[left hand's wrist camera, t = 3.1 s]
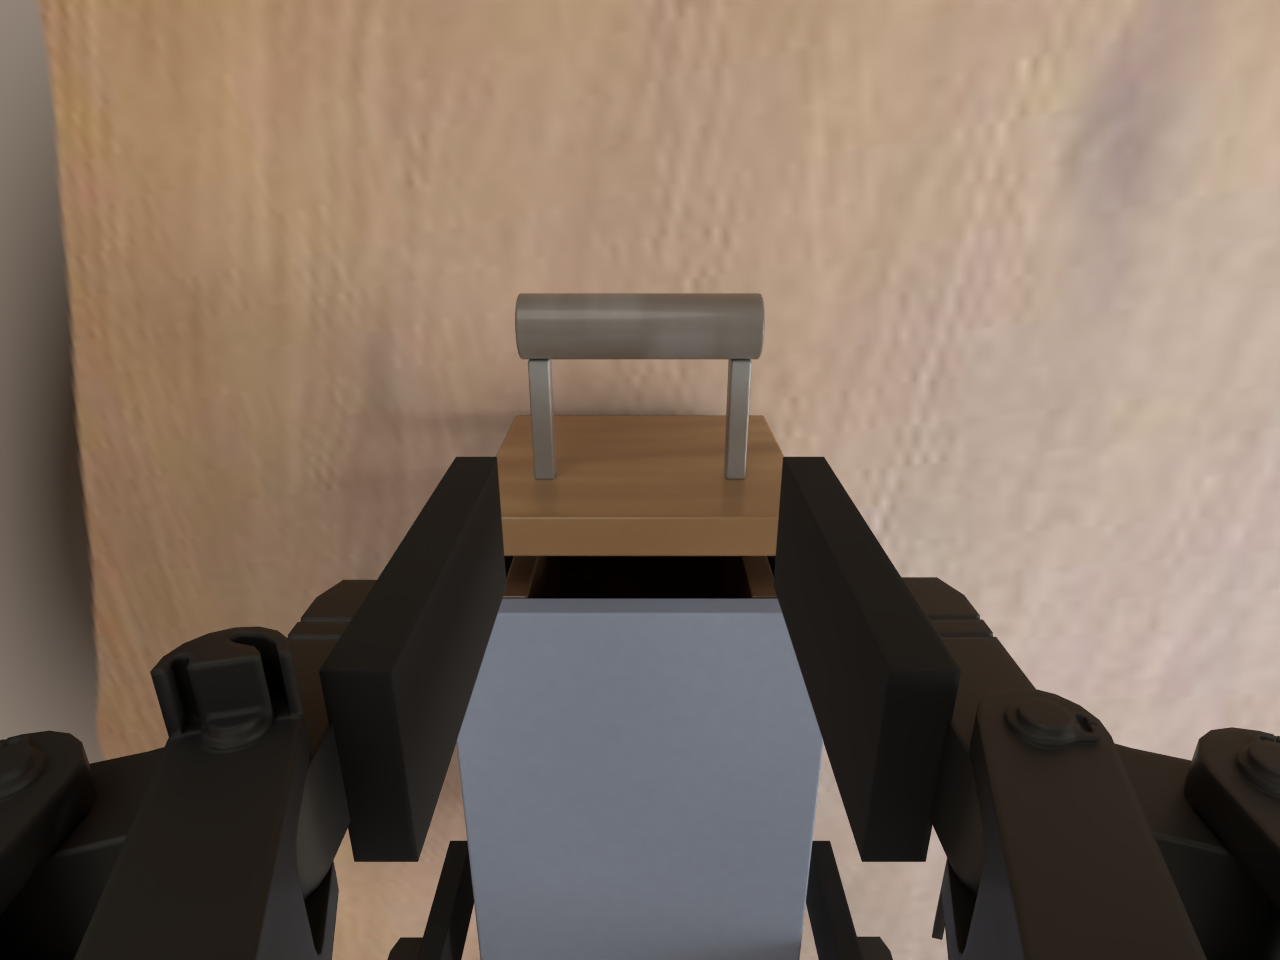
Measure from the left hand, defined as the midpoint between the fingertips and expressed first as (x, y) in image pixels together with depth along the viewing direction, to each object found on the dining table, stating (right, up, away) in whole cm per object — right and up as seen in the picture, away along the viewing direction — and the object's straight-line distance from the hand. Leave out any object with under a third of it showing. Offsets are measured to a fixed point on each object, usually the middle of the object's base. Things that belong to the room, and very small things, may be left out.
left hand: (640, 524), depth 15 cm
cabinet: (0, -7, +20) cm, 21 cm away
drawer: (0, -2, +17) cm, 17 cm away
